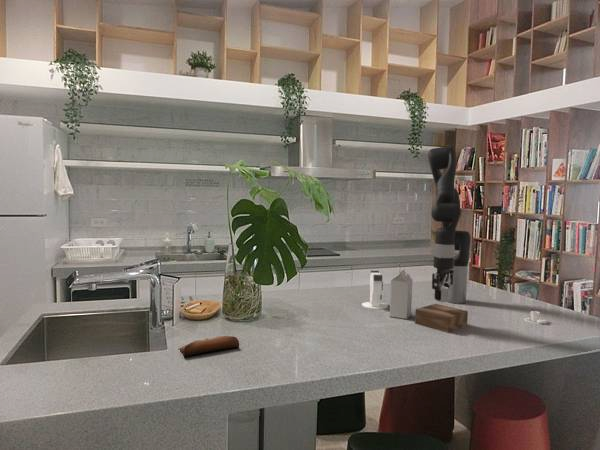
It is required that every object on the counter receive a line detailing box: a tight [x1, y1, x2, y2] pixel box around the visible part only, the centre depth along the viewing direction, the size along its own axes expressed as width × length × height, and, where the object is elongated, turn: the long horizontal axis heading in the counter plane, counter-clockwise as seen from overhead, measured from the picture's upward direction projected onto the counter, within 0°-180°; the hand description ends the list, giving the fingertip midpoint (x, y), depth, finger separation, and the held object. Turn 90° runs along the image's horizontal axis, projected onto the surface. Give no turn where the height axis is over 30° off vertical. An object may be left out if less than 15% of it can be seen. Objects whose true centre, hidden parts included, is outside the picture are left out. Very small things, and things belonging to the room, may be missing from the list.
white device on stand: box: [361, 270, 389, 310], centre depth 198 cm, size 12×11×15 cm
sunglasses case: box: [177, 335, 240, 358], centre depth 141 cm, size 18×7×7 cm
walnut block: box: [414, 303, 469, 333], centre depth 173 cm, size 14×14×6 cm
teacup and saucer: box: [524, 310, 548, 325], centre depth 180 cm, size 9×8×4 cm
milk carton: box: [389, 268, 413, 320], centre depth 183 cm, size 7×7×19 cm
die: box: [432, 285, 452, 303], centre depth 172 cm, size 5×5×5 cm
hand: (442, 298), depth 172 cm, fingers closed on die, 7 cm apart
